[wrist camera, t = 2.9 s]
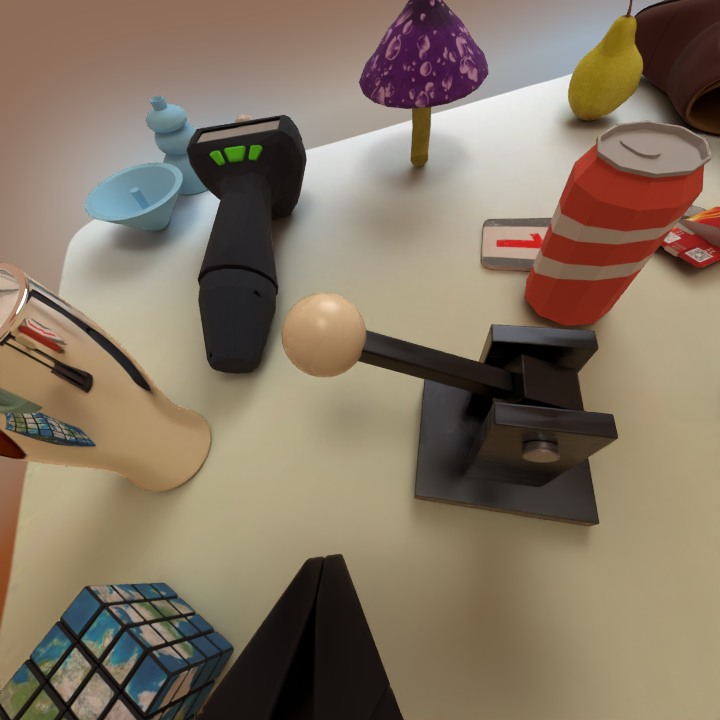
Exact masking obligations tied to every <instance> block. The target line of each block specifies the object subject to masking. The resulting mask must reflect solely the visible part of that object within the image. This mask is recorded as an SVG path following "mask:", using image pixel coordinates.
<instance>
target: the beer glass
mask: <svg viewBox="0 0 720 720" xmlns="http://www.w3.org/2000/svg"><path fill="white" fill-rule="evenodd" d="M210 444H211V432H210V428H209V425H208V423H207V422H206V420H205V419H204V418H203V417H202V416H201V415H200V414H198V413H196V412H195V411H192V410H190V409H187V408H184V407H182V406H179V405H177V404H175V403H174V402H172V401H171V400H170V399H168V398H167V397H166V396H165V395H164V394H163V393H162V391H161V390H160V389H159V388H158V387H157V385H156V384H155V383H154V382H153V380H152V379H151V378H150V377H149V375H148V374H147V373H146V372H145V370H144V369H143V368H142V367H141V366H140V364H139V363H138V362H137V361H136V360H135V359H134V358H133V356H132V355H131V354H130V353H129V352H128V351H127V350H126V349H125V348H124V347H123V346H122V345H121V344H120V343H119V342H118V341H117V340H116V339H114V338H113V337H112V336H111V335H110V334H109V333H108V332H106V331H105V330H104V329H103V328H102V327H101V326H99V325H98V324H97V323H95V322H94V321H93V320H91V319H90V318H89V317H87V316H86V315H85V314H83V313H82V312H81V311H79V310H78V309H76V308H75V307H73V306H72V305H71V304H69V303H68V302H66V301H65V300H63V299H62V298H60V297H59V296H57V295H56V294H54V293H53V292H51V291H50V290H48V289H47V288H45V287H44V286H42V285H41V284H39V283H38V282H36V281H35V280H33V279H32V278H30V277H29V276H28V275H26V274H25V273H24V272H23V271H22V270H21V269H19V268H18V267H16V266H14V265H11V264H7V263H1V262H0V456H4V457H8V458H12V459H18V460H24V461H31V462H37V463H43V464H52V465H61V466H71V467H82V468H92V469H100V470H108V471H111V472H115V473H118V474H121V475H123V476H124V477H126V478H127V479H129V480H130V481H131V482H133V483H134V484H135V485H137V486H138V487H140V488H142V489H144V490H147V491H151V492H162V491H167V490H171V489H173V488H176V487H178V486H180V485H181V484H183V483H185V482H186V481H187V480H189V479H190V478H191V477H192V476H193V475H194V474H195V473H196V472H197V471H198V470H199V468H200V467H201V466H202V464H203V462H204V461H205V459H206V457H207V454H208V452H209V448H210Z"/></svg>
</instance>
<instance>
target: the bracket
mask: <svg viewBox="0 0 720 720" xmlns="http://www.w3.org/2000/svg"><path fill="white" fill-rule="evenodd" d="M597 350H598V344H597V339H596V335H595V331H589V330H573V329H557V328H542V327H526V326H510V325H494V324H493V325H491V327H490V330H489V333H488V336H487V339H486V342H485V345H484V348H483V351H482V354H481V356H480V359H479V362H480V363H484V364H488V365H491V366H495V367H498V368H502V369H503V368H504V367H505V366H507V365H508V364H509V363H510V362H512V361H513V360H514V359H516V358H517V357H518V356H520V355H521V354H524V355H527V356H531V357H534V358H538V359H541V360H545V361H548V362H552V363H555V364H558V365H562V366H565V367H569V368H572V369H576V370H577V373H578V372H579V371H580V370H581V369H582V367H583V366H584V365H585V364H586V363H587V362H588V360H589V359H590V358H591V357H592V356H593V355H594V353H595V352H596V351H597ZM616 439H618V434H617V430H616V425H615V421H614V416H613V415H612V414H605V413H595V412H586V411H576V410H566V409H557V408H547V407H537V406H528V405H518V404H508V403H498V402H494V403H493V398H492V397H489V396H485V395H481V394H478V393H474V392H470V391H467V390H463V389H459V388H456V387H452V386H448V385H444V384H441V383H437V382H433V381H430V380H426V379H425V380H424V390H423V402H422V414H421V425H420V437H419V449H418V461H417V472H416V484H415V496H414V498H415V499H421V500H427V501H433V502H439V503H446V504H452V505H458V506H464V507H471V508H477V509H483V510H489V511H496V512H502V513H508V514H514V515H521V516H527V517H533V518H539V519H546V520H552V521H558V522H564V523H571V524H577V525H583V526H593V525H597V524H599V519H598V513H597V507H596V501H595V495H594V490H593V484H592V478H591V472H590V466H589V460H588V457H589V456H591V455H593V454H594V453H596V452H597V451H599V450H600V449H602V448H604V447H605V446H607V445H608V444H610V443H611V442H613V441H615V440H616Z"/></svg>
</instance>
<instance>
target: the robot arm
mask: <svg viewBox="0 0 720 720" xmlns="http://www.w3.org/2000/svg"><path fill="white" fill-rule="evenodd" d="M195 720H404V719H403V717H402V714H401V712H400V709H399V707H398V704H397V701H396V698H395V696H394V693H393V690H392V688H391V687H390V683H389V680H388V677H387V675H386V672H385V669H384V666H383V664H382V661H381V658H380V656H379V653H378V650H377V647H376V645H375V642H374V639H373V637H372V634H371V631H370V628H369V626H368V623H367V620H366V618H365V615H364V612H363V609H362V607H361V604H360V601H359V599H358V596H357V593H356V590H355V588H354V585H353V582H352V580H351V577H350V574H349V571H348V569H347V566H346V563H345V561H344V558H343V556H342V554H335V555H328V556H326V557H325V558H324V557H315V558H309V559H308V560H306V562H305V563H304V564H303V566H302V567H301V569H300V570H299V572H298V573H297V574H296V576H295V577H294V579H293V580H292V582H291V583H290V584H289V586H288V587H287V589H286V590H285V592H284V593H283V594H282V596H281V597H280V599H279V600H278V602H277V603H276V604H275V606H274V607H273V609H272V610H271V611H270V613H269V614H268V616H267V617H266V619H265V620H264V621H263V623H262V624H261V626H260V627H259V629H258V630H257V631H256V633H255V634H254V636H253V637H252V639H251V640H250V641H249V643H248V644H247V646H246V647H245V649H244V650H243V651H242V653H241V654H240V656H239V657H238V659H237V660H236V661H235V663H234V664H233V666H232V667H231V668H230V670H229V671H228V673H227V674H226V676H225V677H224V678H223V680H222V681H221V683H220V684H219V686H218V687H217V688H216V690H215V691H214V693H213V694H212V696H211V697H210V698H209V700H208V701H207V703H206V704H205V706H204V707H203V713H202V712H200V713H199V714H198V715H197V717H196V718H195Z"/></svg>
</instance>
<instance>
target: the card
mask: <svg viewBox="0 0 720 720" xmlns="http://www.w3.org/2000/svg"><path fill="white" fill-rule="evenodd" d="M685 220H689V221H693V222H697V223H701V224H705V225H709V226H713V227H717V228H720V207H714V208H712V209H709V210H707V211H704V212H702V213H699V214H697V215H694V216H692V217H689V218H687V219H685ZM661 246H663V247H664V250H666V251H668V252H669V253H671V254H672V255H674V256H675V257H676V256H679V257H680V258H682V259H683V260H685V261H687V262H688V263H690V264H691V265H693V266H695V267H697V268H702V267H705V266H707V265H709V264H712V263H714V262H716V261H719V260H720V246H719V247H717V246H715V245H712V244H711V243H709V242H708V241H707V240H705V239H704V238H702V237H700V236H698V235H697V234H693V235H692V234H689V233H687V232H685V231H683V230H681V229H679V228H677V227H674V228H673V229H672V230H671V232H670V233H669V234H668V236H667V237H666V238H665V240H664V241H663V242H662V243H661Z"/></svg>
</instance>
